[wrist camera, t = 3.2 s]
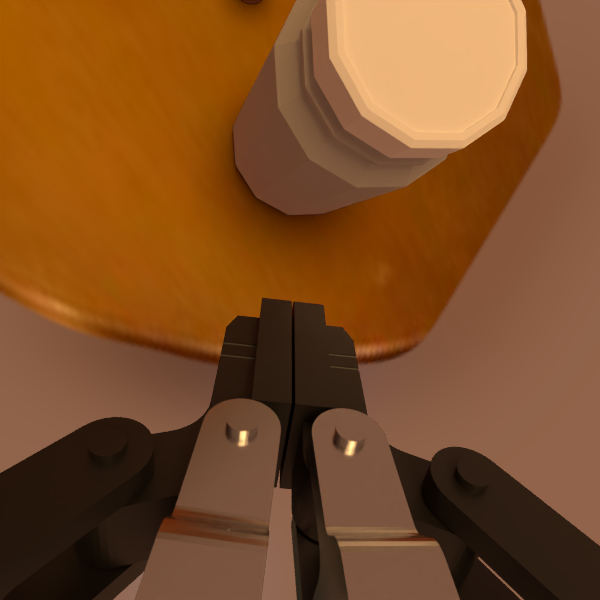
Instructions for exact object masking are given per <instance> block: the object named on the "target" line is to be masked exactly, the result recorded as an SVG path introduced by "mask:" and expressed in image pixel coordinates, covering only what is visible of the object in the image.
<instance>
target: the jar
mask: <svg viewBox="0 0 600 600" xmlns="http://www.w3.org/2000/svg"><path fill="white" fill-rule="evenodd" d="M526 71H527V44H526V10H525V8H524V6H523V3H522V1H521V0H296V2H295V4H294V6H293V8H292V10H291V12H290V14H289V16H288V18H287V20H286V22H285V24H284V26H283V28H282V30H281V32H280V34H279V36H278V38H277V40H276V42H275V44H274V46H273V47H272V49H271V51H270V53H269V55H268V57H267V59H266V61H265V63H264V65H263V67H262V69H261V71H260V73H259V75H258V77H257V79H256V81H255V83H254V85H253V87H252V89H251V91H250V93H249V95H248V97H247V99H246V101H245V103H244V105H243V107H242V109H241V111H240V113H239V115H238V117H237V119H236V121H235V123H234V125H233V136H234V150H235V164H236V167H237V168H238V170H239V171H240V173H241V174H242V176H243V178H244V179H245V181H246V182H247V184H248V185H249V187H250V189H251V190H252V192H253V193H254V195H255V196H256V198H258V199H260V200H262V201H263V202H265V203H267V204H269V205H271V206H272V207H274V208H276V209H278V210H280V211H282V212H283V213H285V214H287V215H305V214H323V213H326V212H330V211H333V210H336V209H339V208H342V207H345V206H348V205H351V204H354V203H357V202H360V201H363V200H366V199H369V198H372V197H376V196H379V195H382V194H385V193H388V192H391V191H394V190H397V189H400V188H403V187H406V186H408V185H409V184H410V183H412V182H413V181H415V180H416V179H418V178H419V177H421V176H422V175H423V174H425V173H426V172H428V171H429V170H431V169H432V168H434V167H435V166H436V165H438V164H439V163H441V162H442V161H444V160H445V159H446V157H447V155H448V154H450V153H452V152H455V151H457V150H460V149H463V148H464V147H466V146H467V145H469V144H470V143H472V142H473V141H474V140H476V139H477V138H479V137H480V136H482V135H483V134H485V133H486V132H487V131H489V130H490V129H492V128H493V127H495V126H496V125H498V124H499V123H500V122H502V121H503V120H505V117H506V115H507V113H508V111H509V109H510V106H511V104H512V102H513V100H514V98H515V95H516V93H517V91H518V89H519V87H520V84H521V82H522V80H523V78H524V76H525V73H526Z"/></svg>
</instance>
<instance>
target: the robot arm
mask: <svg viewBox="0 0 600 600" xmlns="http://www.w3.org/2000/svg"><path fill="white" fill-rule="evenodd" d="M279 470H280V488H285V489H292V515H293V517H292V522H291V531H292V544H293V556H294V568H295V581H296V595H297V600H520V599H519V598H518V597H517V596H516V595H515V594H514V593H513V592H512V591H511V590H510V589H509V588H508V587H507V586H506V585H505V584H503V582H502V581H501V580H500V579H498V578H497V577H496V576H495V575H494V574H493V573H492V572H491V571H490V570H489V569H488V568H487V567H486V566H485V565H484V564H483V563H482V562H481V561H480V560H479V559H478V557H480V558H481V559H482V560H483V561H484V562H485V563H486V564H487V565H488V566H489V567H490V568H492V569H493V570H494V571H495V572H496V573H497V574H498V575H499V576H500V577H501V578H502V579H503V580H504V581H505V582H506V583H507V584H508V585H509V586H510V587H511V588H513V589H514V590H515V591H516V592H517V593H518V594H519V595H520V596H521V597H522V598H523V599H524V600H600V546H599V545H598V544H596V543H595V542H594V541H593V540H591V539H590V538H589V537H588V536H586V535H585V534H584V533H582V532H581V531H580V530H579V529H577V528H576V527H575V526H574V525H572V524H571V523H570V522H569V521H567V520H566V519H565V518H563V517H562V516H561V515H560V514H558V513H557V512H556V511H555V510H553V509H552V508H551V507H550V506H548V505H547V504H546V503H544V502H543V501H542V500H541V499H539V498H538V497H537V496H536V495H534V494H533V493H532V492H531V491H529V490H528V489H527V488H525V487H524V486H523V485H522V484H520V483H519V482H518V481H517V480H515V479H514V478H513V477H511V476H510V475H509V474H508V473H506V472H505V471H504V470H503V469H501V468H500V467H499V466H498V465H496V464H495V463H494V462H492V461H491V460H490V459H488V458H487V457H485V456H483V455H482V454H480V453H478V452H475V451H473V450H470V449H467V448H462V447H448V448H444V449H442V450H440V451H438V452H437V453H436V454H435V455H434V457H433V458H432V461H431V462H430V461H428V460H425V459H422V458H419V457H416V456H414V455H411V454H408V453H405V452H403V451H400V450H398V449H396V448H394V447H392V446H391V445H389V444H388V441H387V438H386V435H385V433H384V431H383V429H382V428H381V427H380V425H379V424H378V423H377V422H376V421H374V420H373V419H372V418H370V417H369V416H368V415H367V410H366V405H365V400H364V395H363V389H362V384H361V379H360V374H359V371H358V363H357V359H356V352H355V347H354V342H353V340H352V339H351V337H350V336H349V335H348V334H347V332H346V331H345V330H344V329H343V327H334V326H326V322H325V313H324V306H323V305H319V304H311V303H302V302H293V306H292V302H291V301H286V300H277V299H268V298H262V303H261V311H260V318H255V317H246V316H237V317H236V318H235V319H234V320H233V321H232V322H231V323H230V324H229V325H228V326H227V327H226V332H225V337H224V342H223V346H222V351H221V356H220V360H219V365H218V370H217V375H216V380H215V385H214V389H213V394H212V399H211V402H210V406H209V408H208V409H207V411H206V412H205V414H204V415H203V416H202V417H201V418H200V419H198V420H197V421H196V422H194V423H192V424H191V425H188V426H186V427H184V428H181V429H178V430H173V431H168V432H162V433H156V434H151V433H150V431H149V430H148V429H147V428H146V427H145V426H144V425H143V424H141V423H140V422H137V421H135V420H132V419H129V418H122V417H111V418H104V419H100V420H96V421H93V422H91V423H89V424H87V425H85V426H83V427H81V428H79V429H78V430H76V431H74V432H72V433H70V434H69V435H67V436H65V437H63V438H62V439H60V440H58V441H56V442H54V443H53V444H51V445H49V446H47V447H46V448H44V449H42V450H40V451H39V452H37V453H35V454H33V455H32V456H30V457H28V458H26V459H25V460H23V461H21V462H19V463H18V464H16V465H14V466H12V467H11V468H9V469H7V470H5V471H3V472H2V473H0V600H113V599H114V598H115V597H116V596H117V595H118V594H119V593H120V592H122V591H123V590H124V589H125V588H126V587H127V586H128V585H129V584H131V583H132V582H133V581H134V580H135V579H136V578H137V577H138V576H139V575H141V574H142V573H143V571H144V570H145V571H144V574H143V577H142V580H141V583H140V586H139V588H138V591H137V594H136V598H135V600H261V597H262V589H263V581H264V573H265V564H266V557H267V549H268V539H269V521H270V513H271V505H272V497H273V489H274V487H277V481H278V476H279Z"/></svg>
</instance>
